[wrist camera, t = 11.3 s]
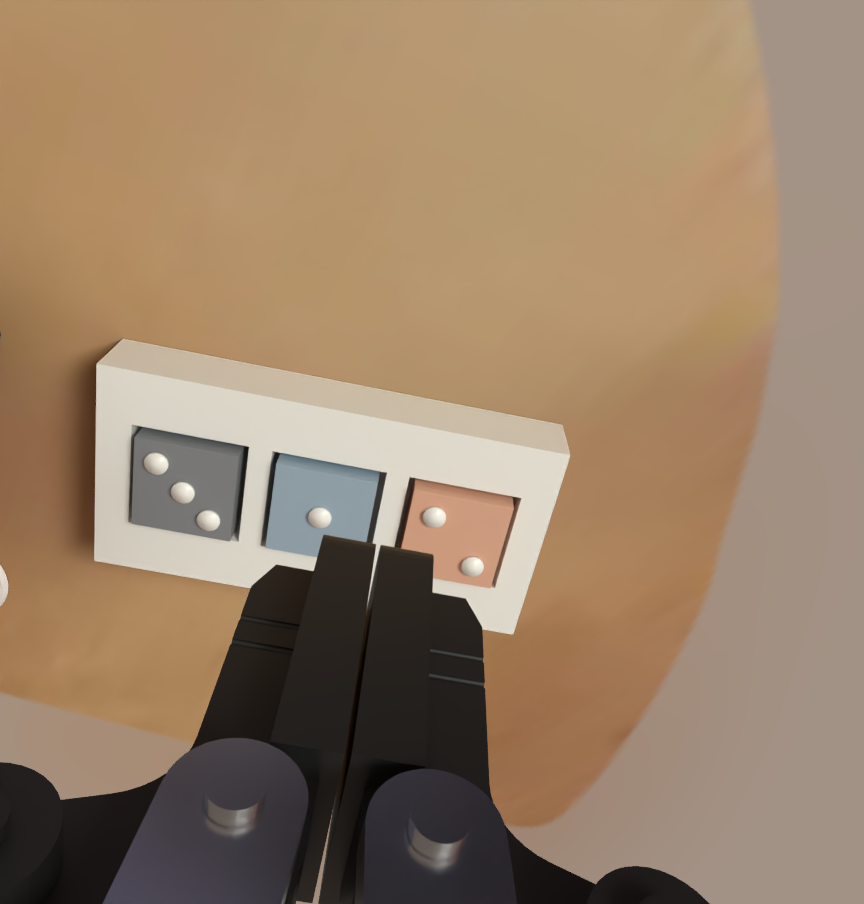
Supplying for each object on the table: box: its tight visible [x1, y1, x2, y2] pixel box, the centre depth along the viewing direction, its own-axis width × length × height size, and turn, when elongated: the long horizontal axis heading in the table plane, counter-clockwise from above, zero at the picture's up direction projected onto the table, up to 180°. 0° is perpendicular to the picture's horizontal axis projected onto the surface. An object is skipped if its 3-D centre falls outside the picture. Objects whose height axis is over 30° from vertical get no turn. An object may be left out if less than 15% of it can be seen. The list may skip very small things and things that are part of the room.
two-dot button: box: [399, 478, 514, 588], centre depth 37 cm, size 4×4×3 cm
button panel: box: [94, 339, 570, 635], centre depth 38 cm, size 20×10×3 cm, turn 79°
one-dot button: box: [265, 453, 380, 557], centre depth 37 cm, size 4×4×3 cm
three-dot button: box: [131, 427, 249, 541], centre depth 37 cm, size 4×4×3 cm
